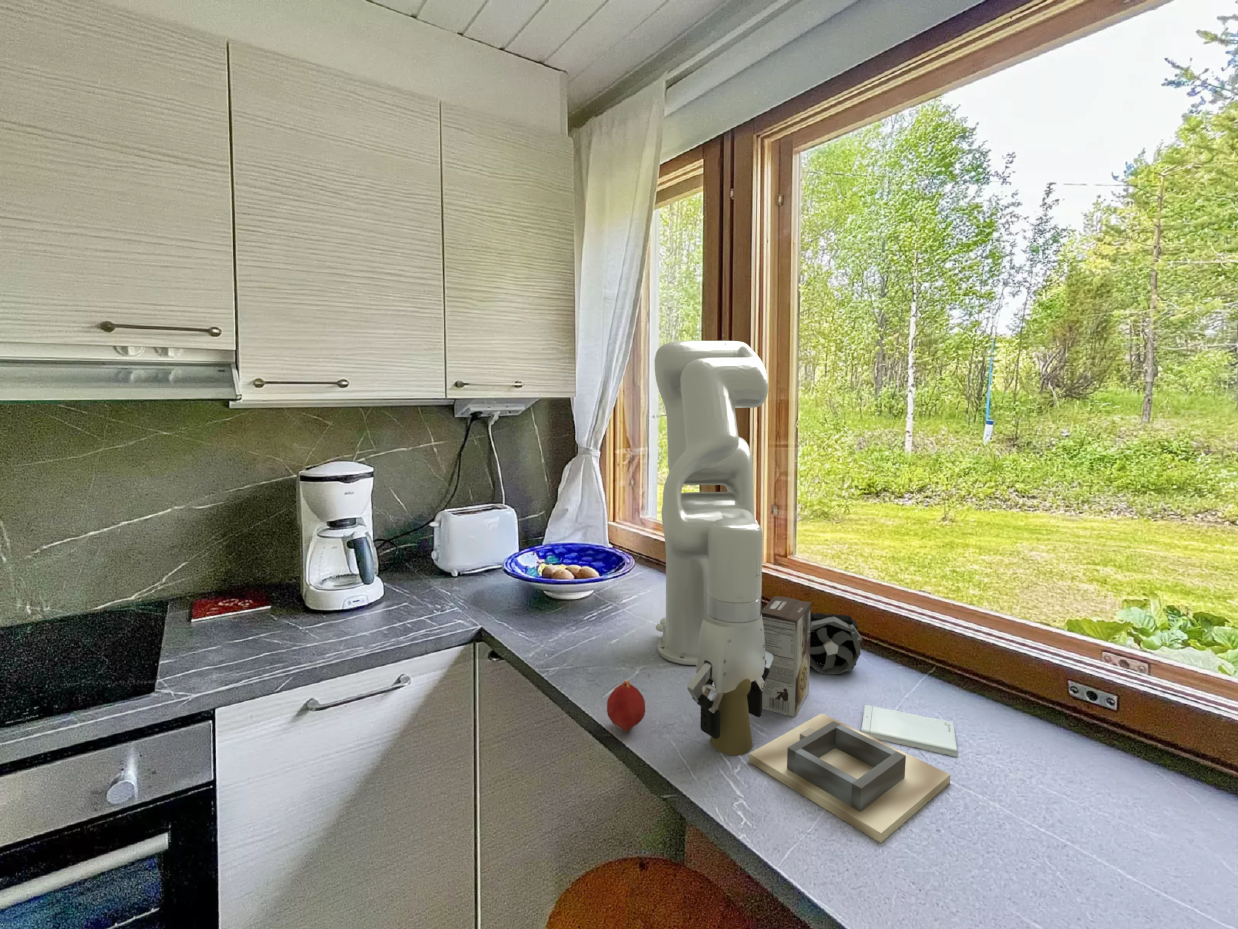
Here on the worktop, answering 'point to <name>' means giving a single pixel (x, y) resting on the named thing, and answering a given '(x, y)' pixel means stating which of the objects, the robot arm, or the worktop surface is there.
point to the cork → (734, 722)
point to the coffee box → (787, 654)
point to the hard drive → (909, 730)
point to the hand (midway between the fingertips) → (731, 723)
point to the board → (851, 774)
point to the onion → (625, 706)
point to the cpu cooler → (833, 643)
